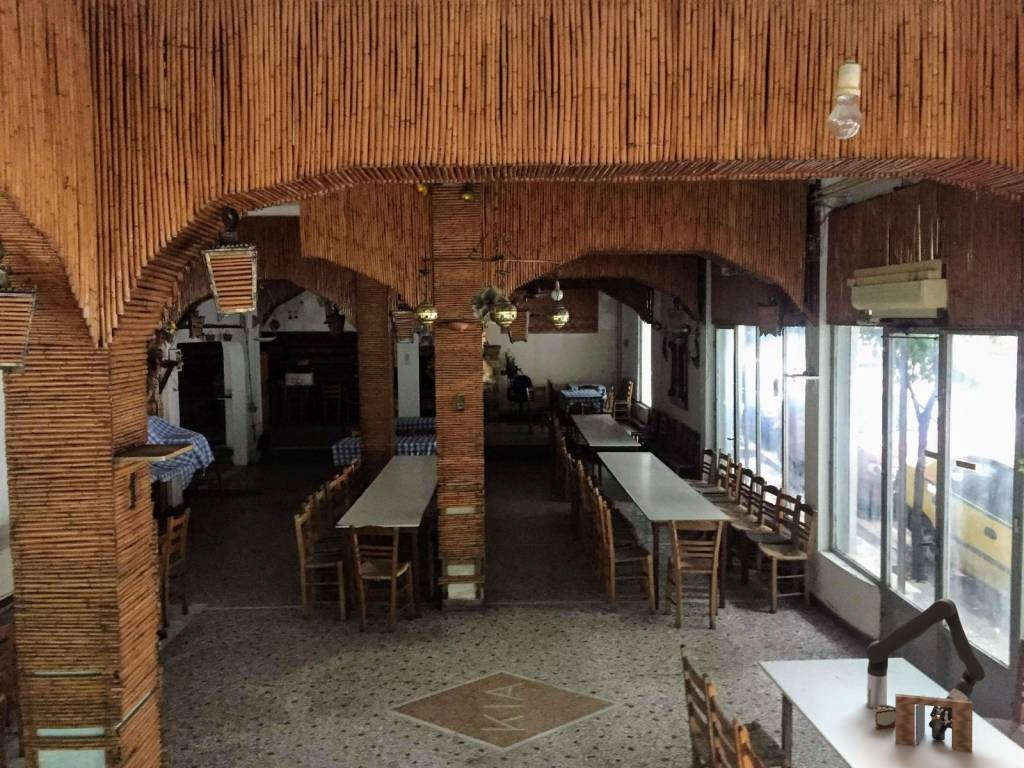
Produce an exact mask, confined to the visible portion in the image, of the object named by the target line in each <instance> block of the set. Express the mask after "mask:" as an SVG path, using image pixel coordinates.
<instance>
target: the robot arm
mask: <svg viewBox="0 0 1024 768" xmlns="http://www.w3.org/2000/svg"><path fill="white" fill-rule="evenodd" d="M943 620H944V621H945V623H946V624H947V627H948V629H949V632H950V637H951V641H952V644H953V647H954V650H955V651H956V654H957V657H958V658H959V659H960V661H961V662H963V664H964V665H965V667H966V668H965V669H964V671H963V672H962V674H961V676H960V677H959V680H958V682H957V683H956V684H955V686H954V687H953V689H952V690H951V691H949V693H948V695H947V696H946V697H945V698H946V699H957V700H968V699H969V698H970V696H971V695H972V694H973V692H974V687H975V685H976V684H977V682H981V681H983V680H984V679H985V677H986V672H985V669H984V668H983V666H982V664H981V662H980V661H979V659H978V657H977V656H976V655H975V652H974V651H973V648H972V646H971V644H970V641H969V640H968V637H967V636H966V633H965V630H964V628H963V624H962V622H961V619H960V616H959V611H958V609H957V605H956V603H955V602H954V601H953V600H952V599H950V598H946V597H945V598H940V599H937V600H936V601H934V602H933V603H932V604H931V605H930V606H929V607H927V608H926V609H925V610H924V611H923V612H921V613H919V614H916V615H914V616H913V617H910V618H909V619H907V620H905V621H904V622H902V623H901V624H899V625H897V627H895V628H894V629H893V630H892V631H891V632H890V633H889V634H888V635H887V636H886V637H885V638H884V639H881V640H875V641H872V642H871V643H870V644H869V645H868V647H866V652H865V656H866V659H867V660H868V665H867V679H866V681H867V684H866V703H867V704H866V705H867V707H868V708H871V709H874V707H875V706H877V705H888V668H889V656H890V655H891V654H893V653H894V652H896V651H898V650H900V649H901V648H903V647H904V646H905V647H906V645H909V644H910V643H913V642H914V641H915V640H917V639H918V638H920V637H922V636H923V635H924V634H925V633H926V632H927V631H928V630H929V629H930V628H931V627H933V626H934V625H936V624H938V623H940V622H941V621H943ZM937 715H939V716H940V717H941V718H943V719H944V721H945V722H944V725H942V727H941V728H940V730H939V732H940V733H941V734H943V733H944V732H945V733H946V731H947V730H948V729H951V730H952V708H947V707H937V706H933V708H932V710H931V712H930V714H929V716H930V718H932V717H936V716H937ZM928 727H929V728H930V729H932V719H931V720H930V722H929V723H928Z"/></svg>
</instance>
